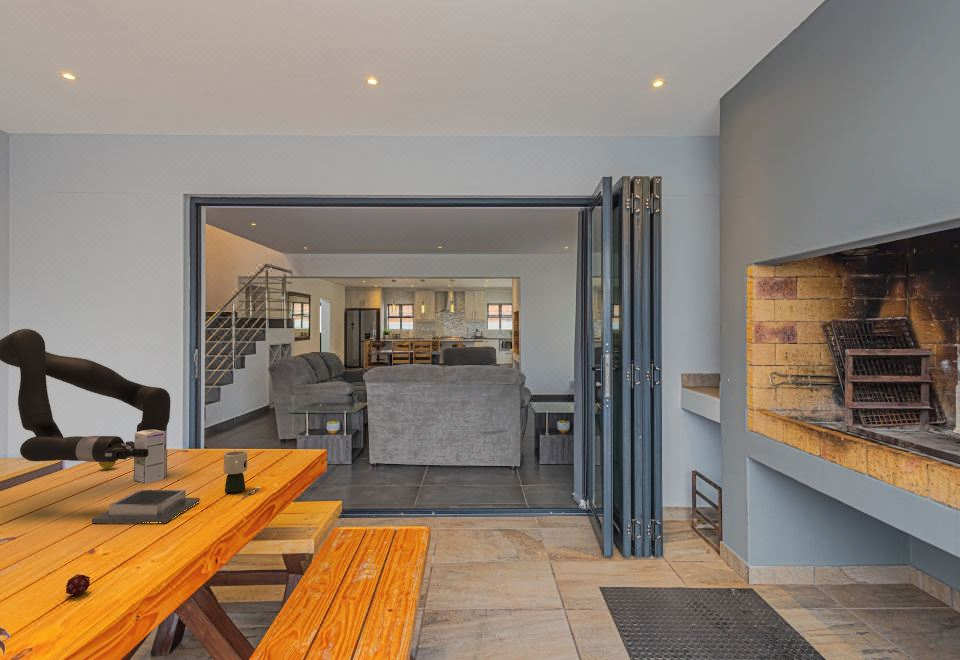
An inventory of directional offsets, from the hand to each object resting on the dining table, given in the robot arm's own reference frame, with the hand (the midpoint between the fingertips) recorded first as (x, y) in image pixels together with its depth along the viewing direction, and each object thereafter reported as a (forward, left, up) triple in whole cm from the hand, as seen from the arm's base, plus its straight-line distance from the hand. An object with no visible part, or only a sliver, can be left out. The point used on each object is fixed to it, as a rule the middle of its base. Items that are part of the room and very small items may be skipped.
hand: (156, 449), depth 149 cm
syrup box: (0, -2, -9) cm, 9 cm away
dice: (+47, +13, -19) cm, 52 cm away
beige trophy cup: (-20, +14, -19) cm, 31 cm away
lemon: (-47, -47, -19) cm, 69 cm away
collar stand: (0, -2, -18) cm, 19 cm away
